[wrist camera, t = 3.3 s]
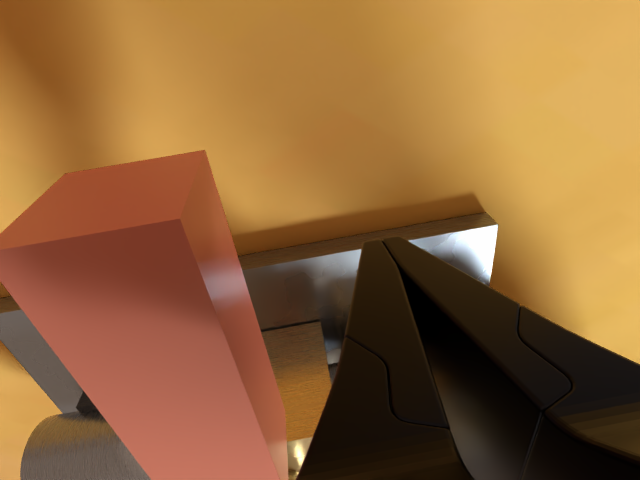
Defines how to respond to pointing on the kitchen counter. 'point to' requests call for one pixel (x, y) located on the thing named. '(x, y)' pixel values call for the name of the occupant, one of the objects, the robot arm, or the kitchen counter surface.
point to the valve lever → (152, 316)
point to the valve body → (277, 331)
